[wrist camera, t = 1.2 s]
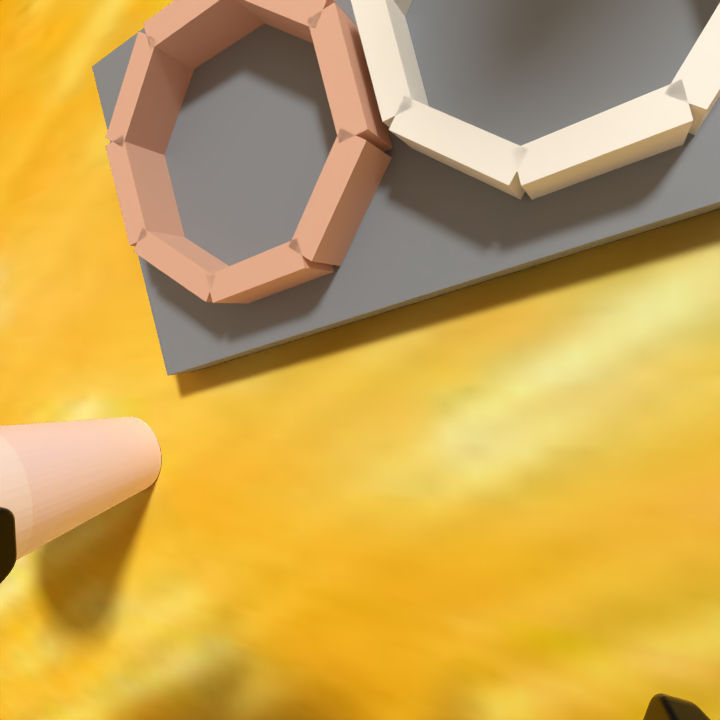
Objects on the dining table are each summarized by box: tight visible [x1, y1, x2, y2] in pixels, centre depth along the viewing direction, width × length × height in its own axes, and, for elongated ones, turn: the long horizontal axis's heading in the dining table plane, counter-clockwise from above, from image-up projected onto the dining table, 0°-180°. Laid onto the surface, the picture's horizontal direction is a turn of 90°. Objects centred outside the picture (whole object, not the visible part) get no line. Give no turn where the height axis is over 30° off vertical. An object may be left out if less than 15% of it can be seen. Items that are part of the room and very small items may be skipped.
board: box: [92, 0, 720, 375], centre depth 18 cm, size 14×24×4 cm, turn 107°
